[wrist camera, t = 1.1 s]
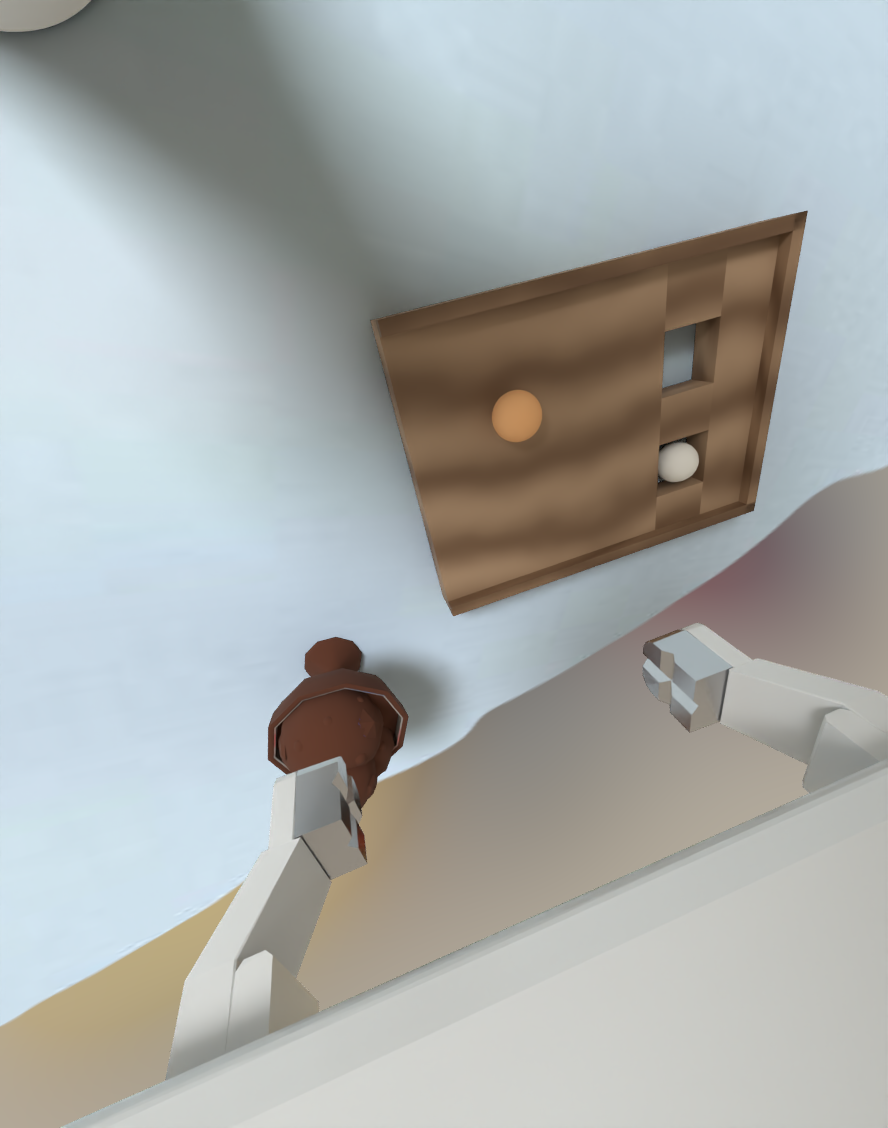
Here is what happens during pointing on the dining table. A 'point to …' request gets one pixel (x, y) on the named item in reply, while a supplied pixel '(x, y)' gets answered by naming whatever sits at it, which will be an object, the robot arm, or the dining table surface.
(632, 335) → the wooden tray
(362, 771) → the ice cream bowl
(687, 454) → the ball grey
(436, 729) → the dining table surface
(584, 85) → the dining table surface
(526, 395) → the ball orange
